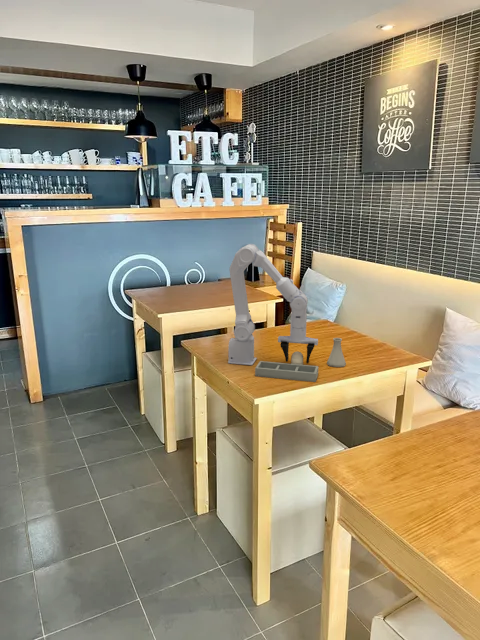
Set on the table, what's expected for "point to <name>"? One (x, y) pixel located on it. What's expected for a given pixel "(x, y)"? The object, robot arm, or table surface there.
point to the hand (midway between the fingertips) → (297, 361)
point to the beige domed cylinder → (297, 358)
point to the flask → (336, 355)
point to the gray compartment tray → (287, 371)
